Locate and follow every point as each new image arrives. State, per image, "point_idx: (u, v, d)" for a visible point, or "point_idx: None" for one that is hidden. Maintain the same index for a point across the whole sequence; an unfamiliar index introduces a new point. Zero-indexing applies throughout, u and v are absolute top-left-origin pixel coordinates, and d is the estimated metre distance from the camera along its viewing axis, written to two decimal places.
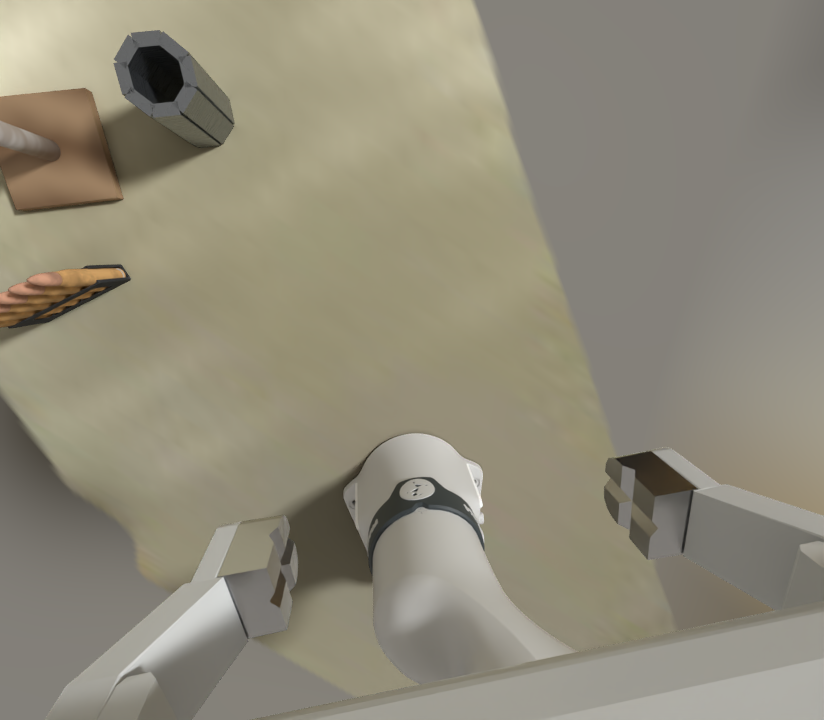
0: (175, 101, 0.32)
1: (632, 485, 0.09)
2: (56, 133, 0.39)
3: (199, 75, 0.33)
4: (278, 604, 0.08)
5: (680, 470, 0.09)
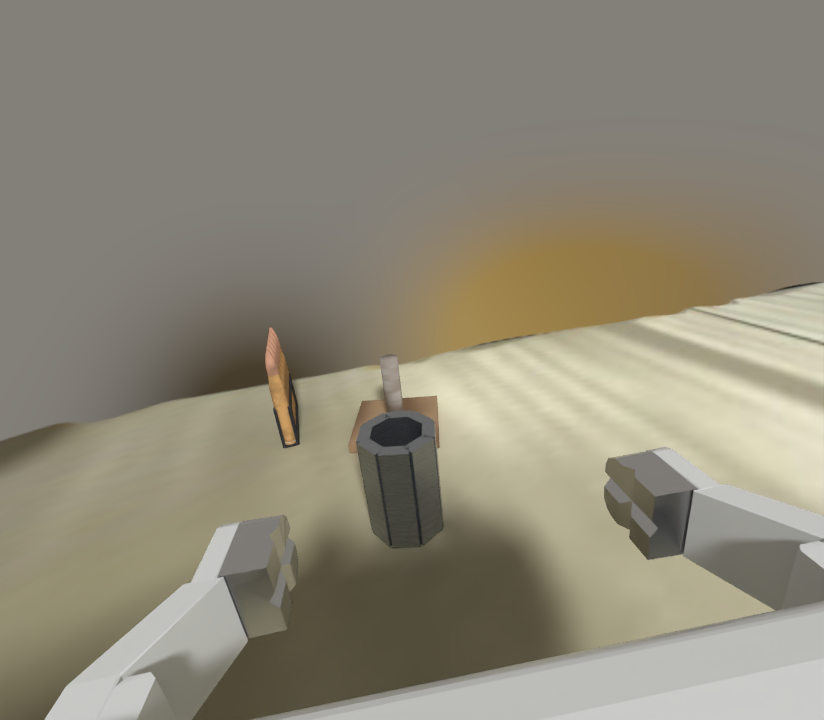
0: (369, 439, 0.30)
1: (632, 485, 0.09)
2: None
3: (396, 467, 0.28)
4: (278, 604, 0.08)
5: (680, 470, 0.09)
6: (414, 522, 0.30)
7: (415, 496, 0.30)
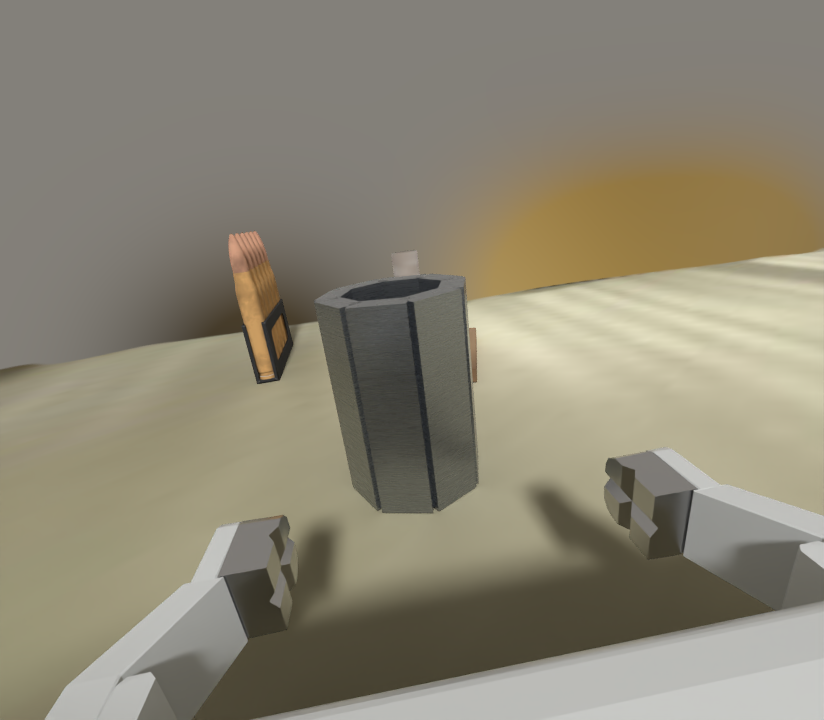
0: (338, 297, 0.16)
1: (632, 485, 0.09)
2: None
3: (383, 336, 0.14)
4: (278, 604, 0.08)
5: (680, 470, 0.09)
6: (421, 461, 0.16)
7: (422, 406, 0.15)
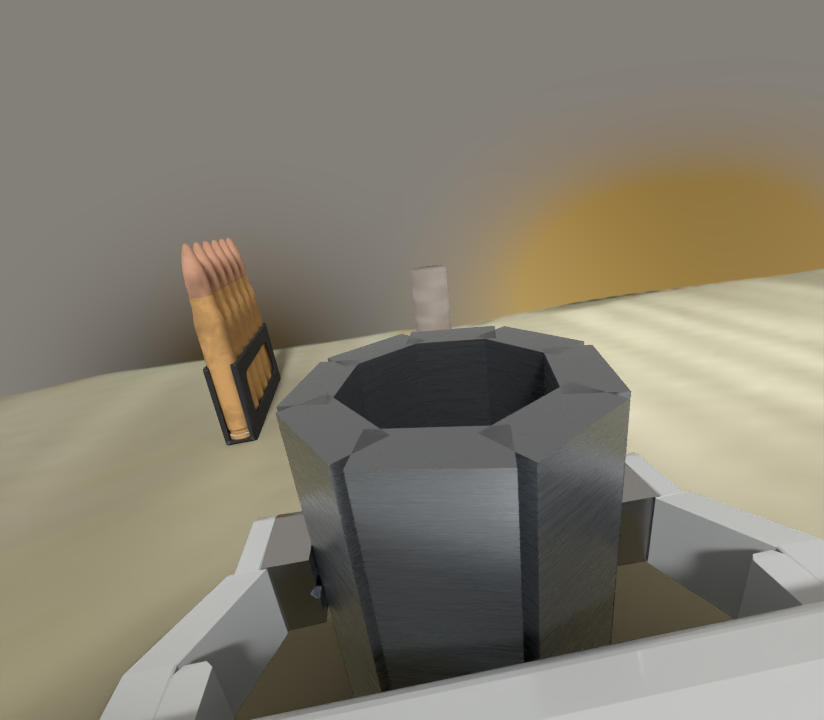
0: (329, 400, 0.07)
1: None
2: None
3: (445, 538, 0.05)
4: (318, 596, 0.08)
5: (644, 476, 0.09)
6: None
7: None
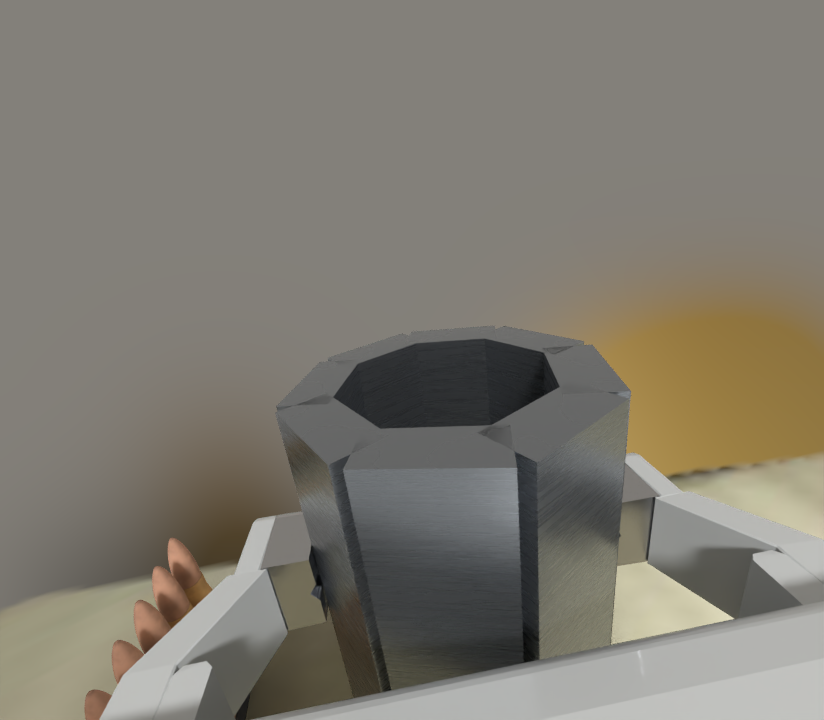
0: (329, 400, 0.07)
1: None
2: None
3: (445, 537, 0.05)
4: (318, 597, 0.08)
5: (644, 476, 0.09)
6: None
7: None
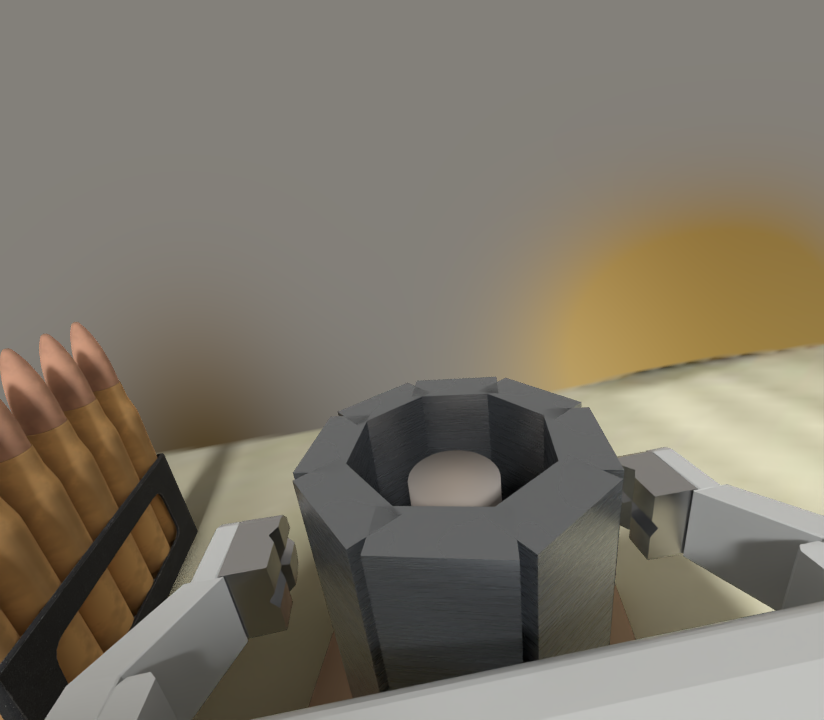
0: (343, 467, 0.08)
1: (632, 485, 0.09)
2: None
3: (453, 615, 0.06)
4: (278, 604, 0.08)
5: (680, 470, 0.09)
6: None
7: None
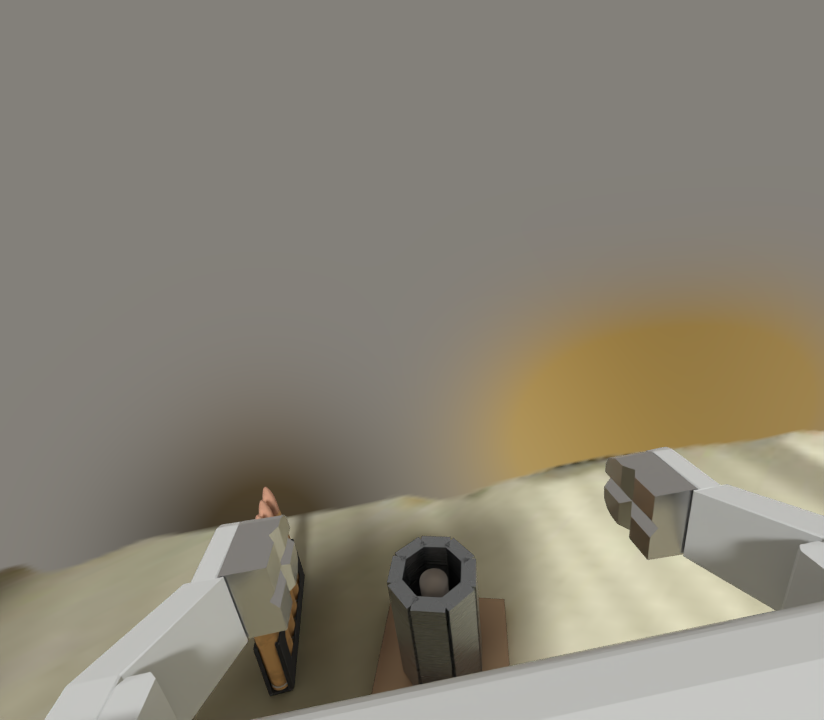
0: (401, 581, 0.27)
1: (632, 485, 0.09)
2: None
3: (431, 624, 0.25)
4: (278, 604, 0.08)
5: (680, 470, 0.09)
6: None
7: (451, 652, 0.26)
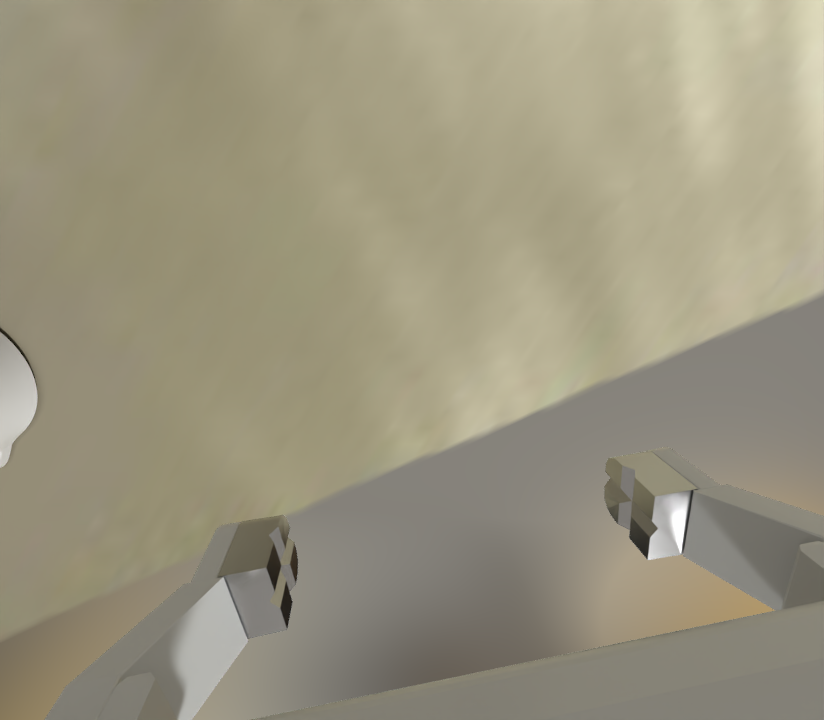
0: None
1: (632, 485, 0.09)
2: None
3: None
4: (278, 604, 0.08)
5: (680, 470, 0.09)
6: None
7: None
